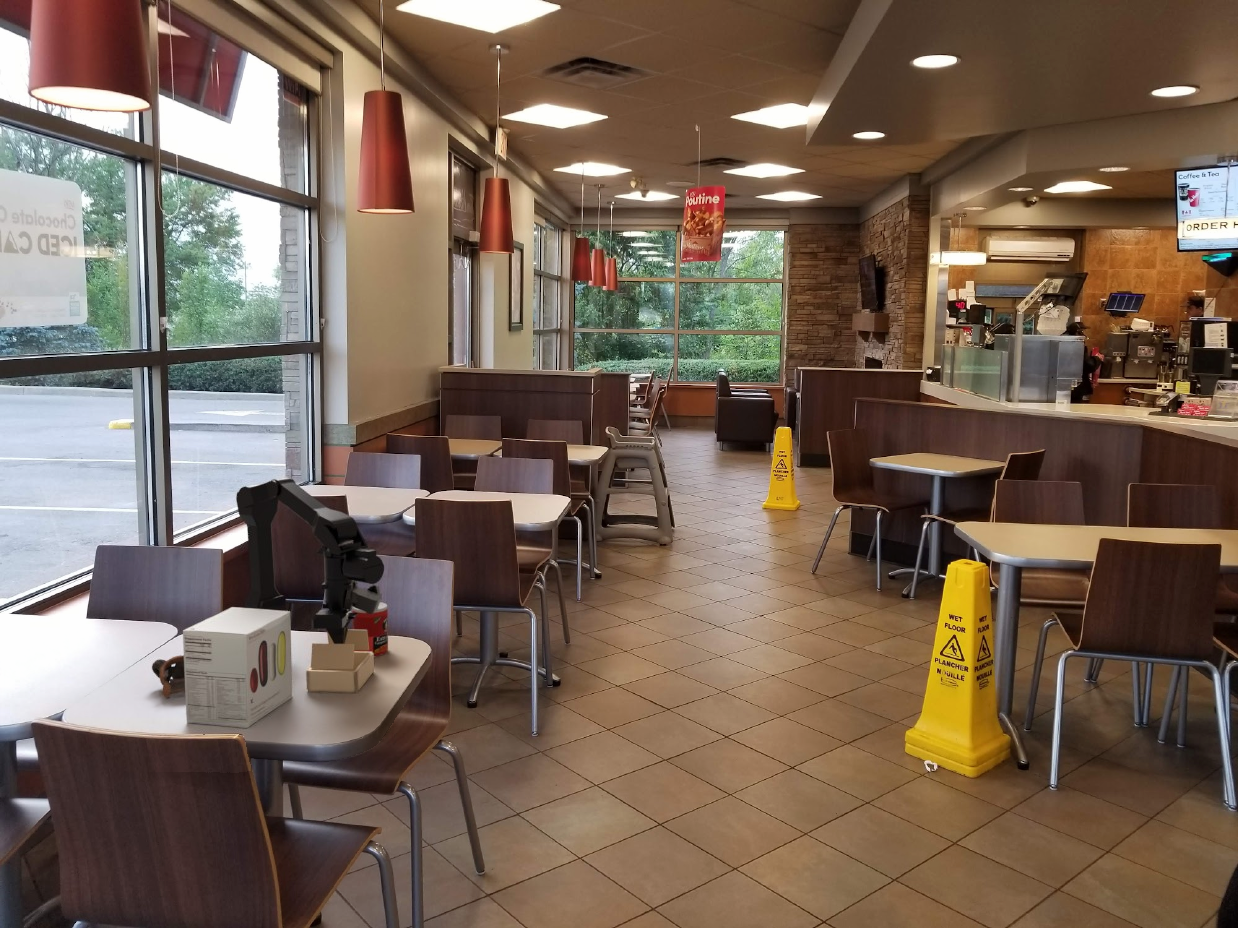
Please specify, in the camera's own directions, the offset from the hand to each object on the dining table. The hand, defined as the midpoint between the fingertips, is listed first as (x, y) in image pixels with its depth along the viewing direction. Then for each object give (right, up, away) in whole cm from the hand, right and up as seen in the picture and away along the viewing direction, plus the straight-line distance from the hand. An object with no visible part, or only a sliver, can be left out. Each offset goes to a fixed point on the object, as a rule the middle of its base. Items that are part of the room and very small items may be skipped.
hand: (340, 649), depth 207 cm
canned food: (+1, -5, +21) cm, 21 cm away
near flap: (0, 0, -5) cm, 5 cm away
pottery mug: (-32, -8, -5) cm, 33 cm away
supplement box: (-15, -9, -15) cm, 23 cm away
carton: (0, -7, +1) cm, 7 cm away
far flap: (0, +1, +5) cm, 5 cm away
